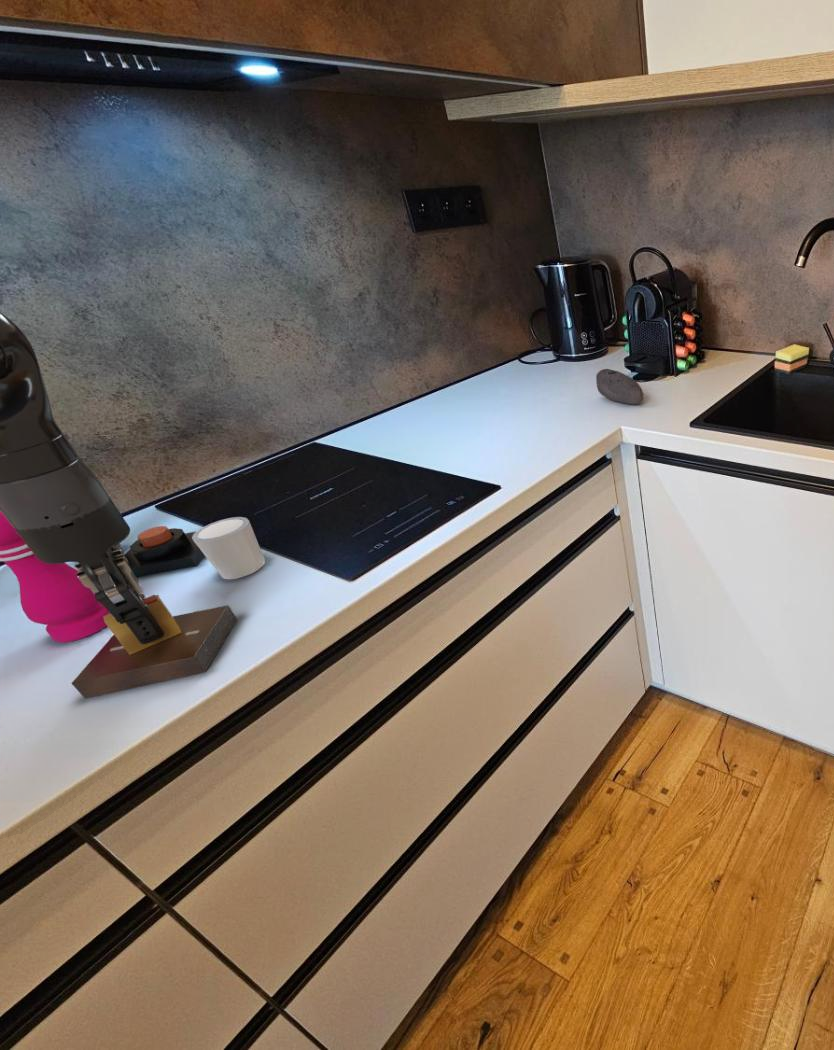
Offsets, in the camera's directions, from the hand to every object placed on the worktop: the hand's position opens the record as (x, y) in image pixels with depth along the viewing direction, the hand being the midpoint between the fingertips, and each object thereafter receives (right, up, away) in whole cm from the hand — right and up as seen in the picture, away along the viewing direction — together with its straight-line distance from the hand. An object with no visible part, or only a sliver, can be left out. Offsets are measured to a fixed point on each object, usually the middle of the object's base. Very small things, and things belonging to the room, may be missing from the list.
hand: (152, 634), depth 69 cm
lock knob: (0, -1, 0) cm, 1 cm away
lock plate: (0, -3, +2) cm, 3 cm away
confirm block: (-18, +8, +22) cm, 29 cm away
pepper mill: (-16, -1, +8) cm, 18 cm away
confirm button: (-18, +10, +20) cm, 29 cm away
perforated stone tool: (+47, +43, +72) cm, 95 cm away
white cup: (-3, +6, +18) cm, 19 cm away
